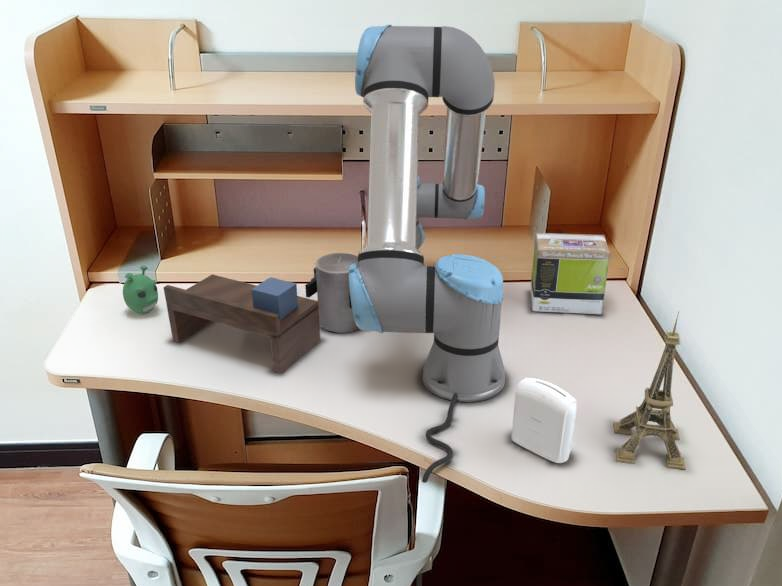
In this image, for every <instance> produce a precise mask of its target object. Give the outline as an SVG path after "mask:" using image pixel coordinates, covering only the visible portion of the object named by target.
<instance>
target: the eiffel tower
mask: <svg viewBox="0 0 782 586" xmlns="http://www.w3.org/2000/svg"><path fill="white" fill-rule="evenodd" d="M679 314H680V310H678V311H677V315H676V319H675V323H674V326H673V330H672V331H666V334H665V335H663V339H664V343H665V345H664V349H663V352H662V355H661V358H660V360H659V363H658V365H657V368H656V371H655V372H654V373H655V374H654V376H653V379H652V381H651V384H650V386H649V387H646V388H645V389H644V398H643V401H642V403H641V404H640V405H639V406H635V409H636V411H633V412H632V413H630V414H628V415H626V416H624V417H623V418H621V419H620V420H619V421H613V433H614V434H622V435H630V436H631V435H632V429H633V428H635V434H633V435H632V436H631V437H630V438H629V439H628V440H627V441H626V442H625V443H623V444H622V445H621V446H620V448H618V449H615V457H616V458H615V459H616V462H617V463H625V464H633V465H634V464H635V463H636V461H635V460H636V456H635V454H636V452H637V449H638V447H639V444H640V442H641V440H642V439H643V438H645V437H648V436H649V437H650V436H656V437H658V438H660V439H661V440H662V441H663V442H664V445H665V449H666V452H667V453H666V454H665V463H666V468H668V469H676V470H684V471H685V470H686V469H687V466H686V462H685V457H684V456H683V457H682V453H681V451H680V450H679V448H678V445H677V444H676V442H675V441H680V434H679V429H678V428H676V427H675V425H674V422H673V421H672V418H671V417H672V416H671V407H674V399H673V396H672V383H673V371H674V362H675V354H676V347H677V346H680V345H681V341H680V340H681V337H680V334H679V332H676V329H677V323H678V317H679ZM662 384H663V386H662ZM661 386H662V389H661ZM648 422H650V423H651V422H652V423H656V424H649V423H648ZM657 424H658V425H657Z"/></svg>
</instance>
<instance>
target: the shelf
mask: <svg viewBox="0 0 782 586" xmlns="http://www.w3.org/2000/svg"><path fill="white" fill-rule="evenodd" d="M256 286H257V284H253V283H249V282H245V281H241V280H236V279H233V278H229V277H224V276H220V275H217V274H210V275H209V276H207V277H205V278H203V279H202V280H200V281H198V282H197V283H195V284H193V285H191V286H190V287H187V289H184V288H181V287H178V286H173V285H170V284H167V285H165V286H163V293H164V298H165V303H166V309H167V310H166V311H167V315H168V322H169V326H170V334H171V339H172V342H174V343H178V344H180V343H181V342H183V341H184V340H187V339H188V338H189V337H190V336H192V335H194V334H195V333H197V332H198V331H200V330H201V329H203V328H204V327H206V326H207V325H210V324H211V323H213V322H214V323H218V324H221V325H225V326H228V327H232V328H235V329H239V330H243V331H246V332H250V333H253V334H256V335H261V336H264V337H267V338H270V347H271V358H272V359H271V360H272V368H273V372H274V373H276V374H283V373H284V372H285V371H286V370H287V369H288V368H289V367H291V366H292V365H293V364H294V363H295V362H297V361H298V360H299V359H300V358H302V357H303V356H304V355H305V354H306V353H307V352H309V351H310V350H311V349H312V348H314V347H316V345H317V344H319V343H320V342H321V329H320V327H321V326H320V325H319V308H318V300H315V299H311V298H308V297H303V296H300V295H297V298H298V307H297V308H296V309H295V310H293V311H292V312H291V313H289V314H288V315H287V316H285V317H284V318H282V319H281V320H280V319H279V315H278V314H275V313H271V312H267V311H264V310H260V309H256V308H253V298H252V289H253V288H254V287H256Z"/></svg>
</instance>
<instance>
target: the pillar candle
mask: <svg viewBox="0 0 782 586" xmlns="http://www.w3.org/2000/svg"><path fill="white" fill-rule="evenodd" d="M354 263H356V264H358V255H355V254H351V253H347V252H334V253H328V254H324V255H323V256H320V257H319V258H318V259H317V260H316V261H315V263H314V265H315V268H316V278H317V292H316V295H317V296H316V297H317V301H318V308H319V325H320V327H321V329H323V330H324V331H329V332H333V333H338V334H348V333H353V332H355V331H358V330H360V329H359V328H358V327H357V325H356V324H355V321H354V317H353V311H352V308H350V300H349V296H350V288H349V266H350V265H352V264H354Z"/></svg>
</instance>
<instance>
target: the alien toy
mask: <svg viewBox="0 0 782 586" xmlns="http://www.w3.org/2000/svg"><path fill="white" fill-rule="evenodd" d="M139 269H141V271H142V273H137V274H136V273H135V274H134V273H132V272H127V273H126V274H125V276H124V278H125V281H124V284H123V286H122V297H123V301H124V303H125V305H126V306H127V308H128V309H129V310H130V311H132V312H133V313H136V314H140V315H144V314H148V313H150V312H152V311H153V310H154V309H155V308H156V305H157V303H158V302H159V292H158V291H159V290H158V287H157V285H156V284H157V281H156V279H152V278H150V277H149V276H148V275H146V274H145V273H146V271H147V270H149V268H148V266H147V265H144V264H143V265H141V266H139Z"/></svg>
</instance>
